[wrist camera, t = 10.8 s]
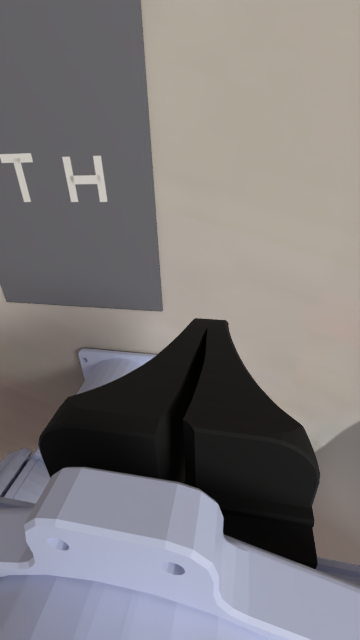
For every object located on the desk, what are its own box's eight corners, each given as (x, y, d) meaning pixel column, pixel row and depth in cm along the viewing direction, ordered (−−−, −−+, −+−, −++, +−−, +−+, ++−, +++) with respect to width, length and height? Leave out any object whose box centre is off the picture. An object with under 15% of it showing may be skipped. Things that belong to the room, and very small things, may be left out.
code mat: (162, 310, 23) (162, 311, 23) (8, 300, 26) (6, 301, 26) (137, -37, 14) (136, -39, 14) (-97, -3, 17) (-101, -4, 17)
